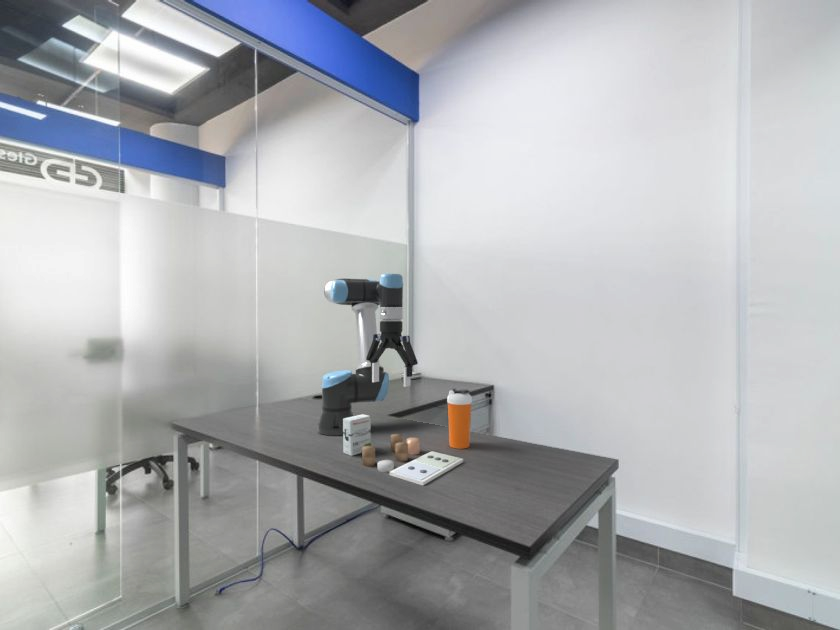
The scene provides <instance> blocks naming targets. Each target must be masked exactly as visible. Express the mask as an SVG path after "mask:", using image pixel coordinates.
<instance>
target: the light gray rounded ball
mask: <svg viewBox="0 0 840 630" xmlns="http://www.w3.org/2000/svg"><path fill="white" fill-rule="evenodd" d="M376 464H377V471H378V472H380V473H390V471H392V470H394V469H395V463H394V461H393V460H391V459H382V460H379V461H377V463H376Z"/></svg>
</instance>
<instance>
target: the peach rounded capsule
mask: <svg viewBox="0 0 840 630" xmlns="http://www.w3.org/2000/svg"><path fill="white" fill-rule="evenodd" d="M420 442H421V440H420V438H418V437H415V436H414V437H408V438H406V443H407V444H408V455H409V454H410V455H411V456H416V455H419V454H420V449H421V448H420V446H421V445H420V444H421V443H420ZM410 455H409V456H410Z"/></svg>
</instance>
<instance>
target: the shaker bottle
mask: <svg viewBox="0 0 840 630" xmlns="http://www.w3.org/2000/svg"><path fill="white" fill-rule="evenodd" d="M470 392H471V389H465V388H464V389H461V388H460V389H457V388H452V389H449V392H448V395H447V398H446V402H447V411H448V412H447V415H448V418H447V419H448V441H449V447H451V448H452V449H458V450H462V449H464V450H465V449H467V448H469V447H470V438H471V421H472V420H471V419H472V404H473V396H472V395H471V394H470Z"/></svg>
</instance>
